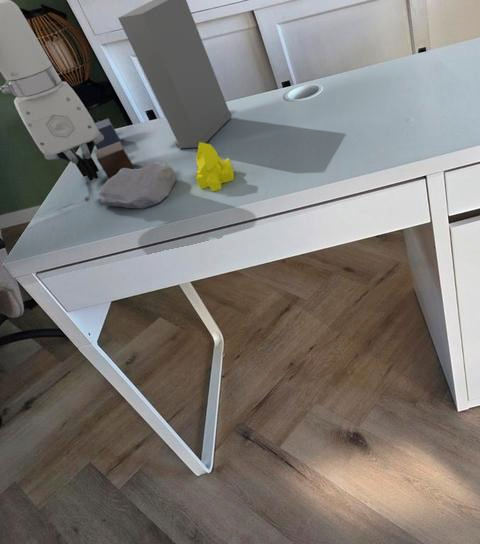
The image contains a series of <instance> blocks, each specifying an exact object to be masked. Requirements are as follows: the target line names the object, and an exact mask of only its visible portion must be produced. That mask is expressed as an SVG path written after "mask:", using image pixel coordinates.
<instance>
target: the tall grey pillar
mask: <svg viewBox="0 0 480 544" xmlns="http://www.w3.org/2000/svg"><path fill="white" fill-rule="evenodd" d="M117 19H118V21H119V23H120V25H121V27H122V29H123V31H124V33H125V36H126V37H127V40H128V41H129V44H130V45H131V48H132V50H133V52H134V55H135V56H136V58H137V61H138V62H139V64H140V66H141V69H142V71H143V73H144V75H145V77H146V79H147V82H148V84H149V85H150V87H151V91H152V92H153V94H154V97H155V98H156V100H157V102H158V104H159V106H160V108H161V110H162V113H163V114H164V117H165V119H166V121H167V123H168V126H169V127H170V129H171V131H172V133H173V135H174V138H175V140H176V142H175V146H176V148H177V149H180V150H183V149H191V148H198V146H199V142H201V143H206V144H207V142H208V141H209V140H210V139H212V137H213V136H214V135H215V134H216V133H217V132H218V131H219V130H220V129H221V128H222V127H223V126H224V125H225V124H226V123H227V122H228V121H230V120H231V118H232V117H233V115H232V113H231V111H230V110H229V107H228V104H227V101H226V100H225V97H224V94H223V92H222V89H221V86H220V84H219V81H218V78H217V76H216V74H215V71H214V68H213V66H212V64H211V60H210V58H209V56H208V53H207V51H206V47H205V45H204V41H203V40H202V38H201V35H200V32H199V30H198V27H197V25H196V21H195V20H194V16H193V14H192V12H191V9H190V6H189V4H188V1H187V0H150V1H148V2H146V3H144V4H142V5H141V6H138V7H136V8H134V9H133V10H130V11H129V12H127V13H125V14H122V15H121V16H119V17H118V18H117Z"/></svg>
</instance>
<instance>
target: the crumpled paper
mask: <svg viewBox="0 0 480 544" xmlns="http://www.w3.org/2000/svg"><path fill="white" fill-rule="evenodd" d="M195 158H196V159H195V160H196V161H195V162H196V166H197V169H198V170H197V171H195V174H196V177H195V180H196V182H197V185H198V186H199V188H200V190H202V189H207V188H210V191H211V192H212V193H214V192H217V191H221V190H222V185H223V184H224V183H227V182H228V183H229V182H232V181H234V178H235V177H234V176H235V170H234V167H233V165H232V163H231V160H230V158H229V157H228V158H226V159H225V160H224V161H223V158H222V157H221V156H219V155H218V152H217V151H216V149H215V148H214V146H212V144H210V143H207V142H206V143H201V142H199V146H198V147H197V152H196V157H195Z"/></svg>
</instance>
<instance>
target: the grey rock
mask: <svg viewBox="0 0 480 544" xmlns="http://www.w3.org/2000/svg"><path fill="white" fill-rule="evenodd" d="M177 180H178V179H177V175H176V173H175V170H174V168H173V167H171V166H170V165H169V164H168V163H166V162H160V161H156V162H152V163H146V165H144V166H142V167H140V168H135V169H129V168H122V169H120V171H119V172H118V173H117V174H116V175H114V176H113V177H111V178H110V179H109V178H108V179H107V180H106V181H105V182H104V183H103V185H102V186H101V189H100V191H99V192H98V195H99V199H100V202H101V203H102V204H104V205H106V206H109V207H118V208H126V209H140V210H142V209H147V208H149V207H152V206H156V205H157V204H159V203H161V202H162V201H163V200H164V199H166V198H167V197H168V196H169V195H170V193H171V191H172V189H173V188H174V186H175V183H176V182H177Z"/></svg>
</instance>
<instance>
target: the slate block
mask: <svg viewBox="0 0 480 544" xmlns="http://www.w3.org/2000/svg"><path fill="white" fill-rule="evenodd" d="M94 123H95V125H96V127H97V129H98V130H99V131H100V132H101V133H102V134H103V136H104V140H103V141H101V142H100V143H98V144H96V145H95V146H94V147H95V149H96V150H98V149H101V148H104V147H106V146H109V145H111V144H114V143H116V142H119V141H120V142H121V144H122V145H123V143H122V140H121V138H120V136H119V134H118V133H117V131H116V130H115V129H116V128H115V127H114V125H113V124H112V122H111V120H110V118H108V117H107V118H106V119H103V120H100V121H98V122H94Z"/></svg>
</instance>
